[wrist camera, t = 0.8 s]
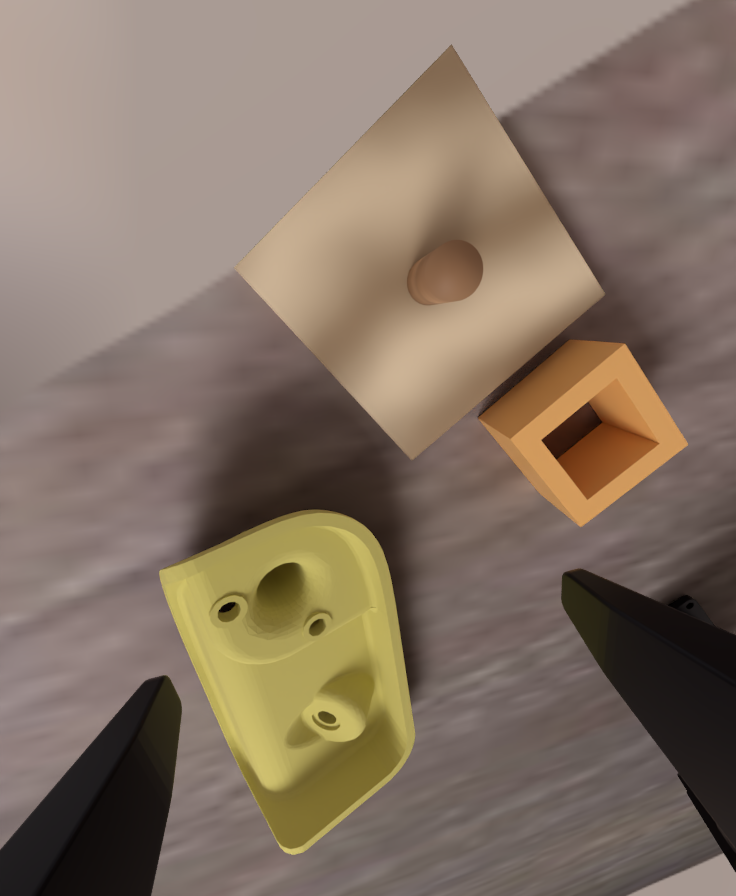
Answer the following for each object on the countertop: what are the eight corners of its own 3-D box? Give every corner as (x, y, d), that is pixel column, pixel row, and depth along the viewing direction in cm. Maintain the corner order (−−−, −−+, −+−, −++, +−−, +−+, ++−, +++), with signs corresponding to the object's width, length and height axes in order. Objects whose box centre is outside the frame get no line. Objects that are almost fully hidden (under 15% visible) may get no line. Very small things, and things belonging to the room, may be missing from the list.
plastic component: (418, 756, 25) (268, 881, 21) (359, 672, 31) (233, 756, 27) (377, 480, 18) (127, 586, 13) (309, 439, 24) (122, 503, 19)
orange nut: (626, 423, 22) (688, 444, 18) (539, 493, 23) (580, 527, 19) (569, 339, 20) (625, 343, 17) (477, 417, 21) (509, 438, 17)
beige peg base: (592, 295, 20) (675, 287, 15) (408, 454, 21) (430, 492, 17) (444, 60, 16) (491, -46, 12) (239, 270, 18) (206, 252, 13)
